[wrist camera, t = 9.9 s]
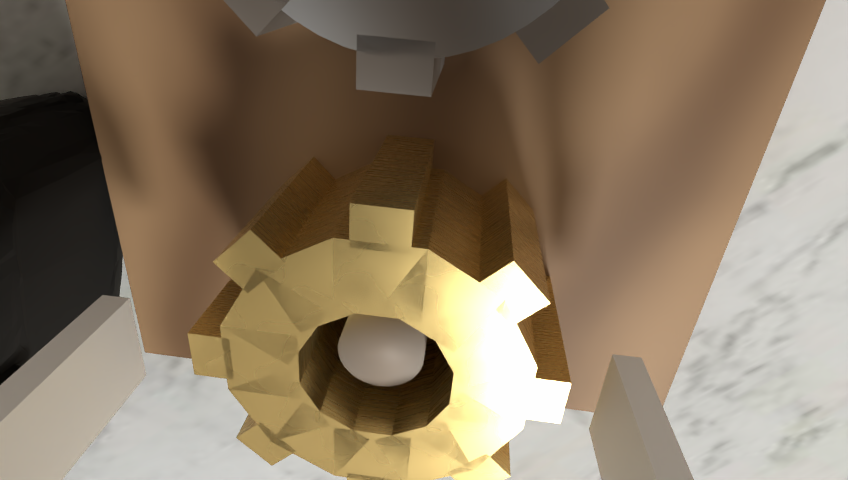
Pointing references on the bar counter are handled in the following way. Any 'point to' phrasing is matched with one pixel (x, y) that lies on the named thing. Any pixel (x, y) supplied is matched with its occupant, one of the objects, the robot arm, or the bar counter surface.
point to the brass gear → (394, 298)
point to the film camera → (51, 223)
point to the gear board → (447, 143)
